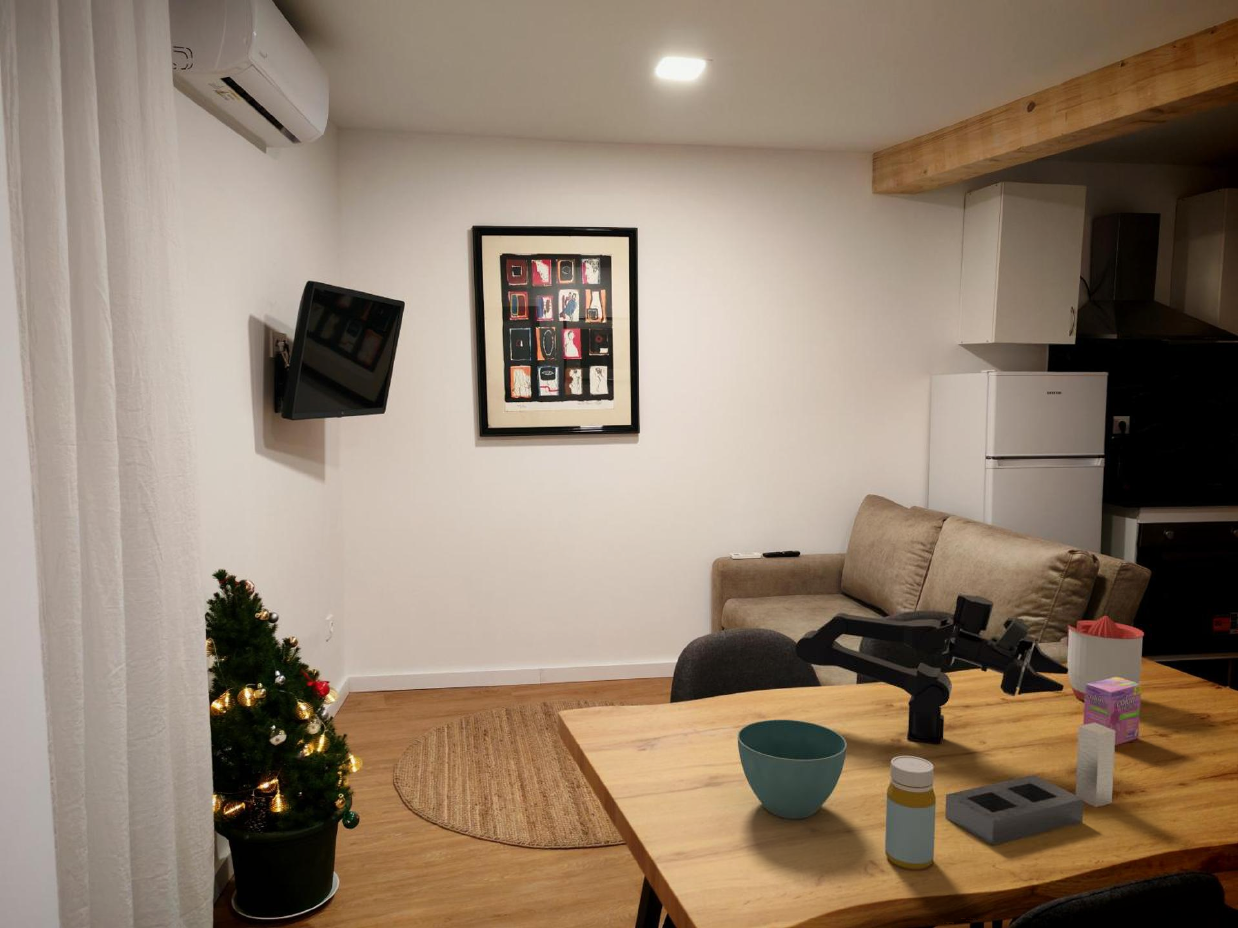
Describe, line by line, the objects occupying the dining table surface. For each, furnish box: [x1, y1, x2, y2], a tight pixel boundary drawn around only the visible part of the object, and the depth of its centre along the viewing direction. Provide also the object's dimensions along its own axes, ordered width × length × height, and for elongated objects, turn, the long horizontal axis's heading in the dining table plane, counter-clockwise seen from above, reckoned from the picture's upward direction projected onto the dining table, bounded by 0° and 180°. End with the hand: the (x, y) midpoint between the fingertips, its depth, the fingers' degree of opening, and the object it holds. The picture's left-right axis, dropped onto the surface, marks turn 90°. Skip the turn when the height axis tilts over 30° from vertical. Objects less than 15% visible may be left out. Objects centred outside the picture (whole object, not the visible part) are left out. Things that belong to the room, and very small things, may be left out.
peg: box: [1074, 723, 1116, 808], centre depth 152 cm, size 4×4×13 cm
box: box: [1082, 677, 1143, 746], centre depth 180 cm, size 10×6×12 cm, turn 117°
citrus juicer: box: [1059, 615, 1145, 702], centre depth 205 cm, size 16×17×20 cm
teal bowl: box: [737, 719, 848, 820], centre depth 149 cm, size 18×18×12 cm
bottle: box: [884, 755, 937, 871], centre depth 132 cm, size 7×7×15 cm
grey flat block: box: [944, 774, 1084, 847], centre depth 145 cm, size 20×10×4 cm, turn 113°
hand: (1065, 679), depth 167 cm, fingers open, 9 cm apart
